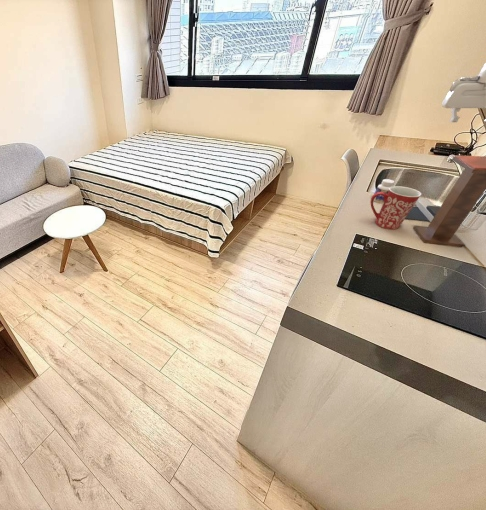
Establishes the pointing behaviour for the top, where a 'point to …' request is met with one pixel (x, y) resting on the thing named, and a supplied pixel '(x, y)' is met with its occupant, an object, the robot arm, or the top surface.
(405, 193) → the mug
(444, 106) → the robot arm
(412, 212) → the mat
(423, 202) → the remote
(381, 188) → the pill bottle
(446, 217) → the shelf stand
